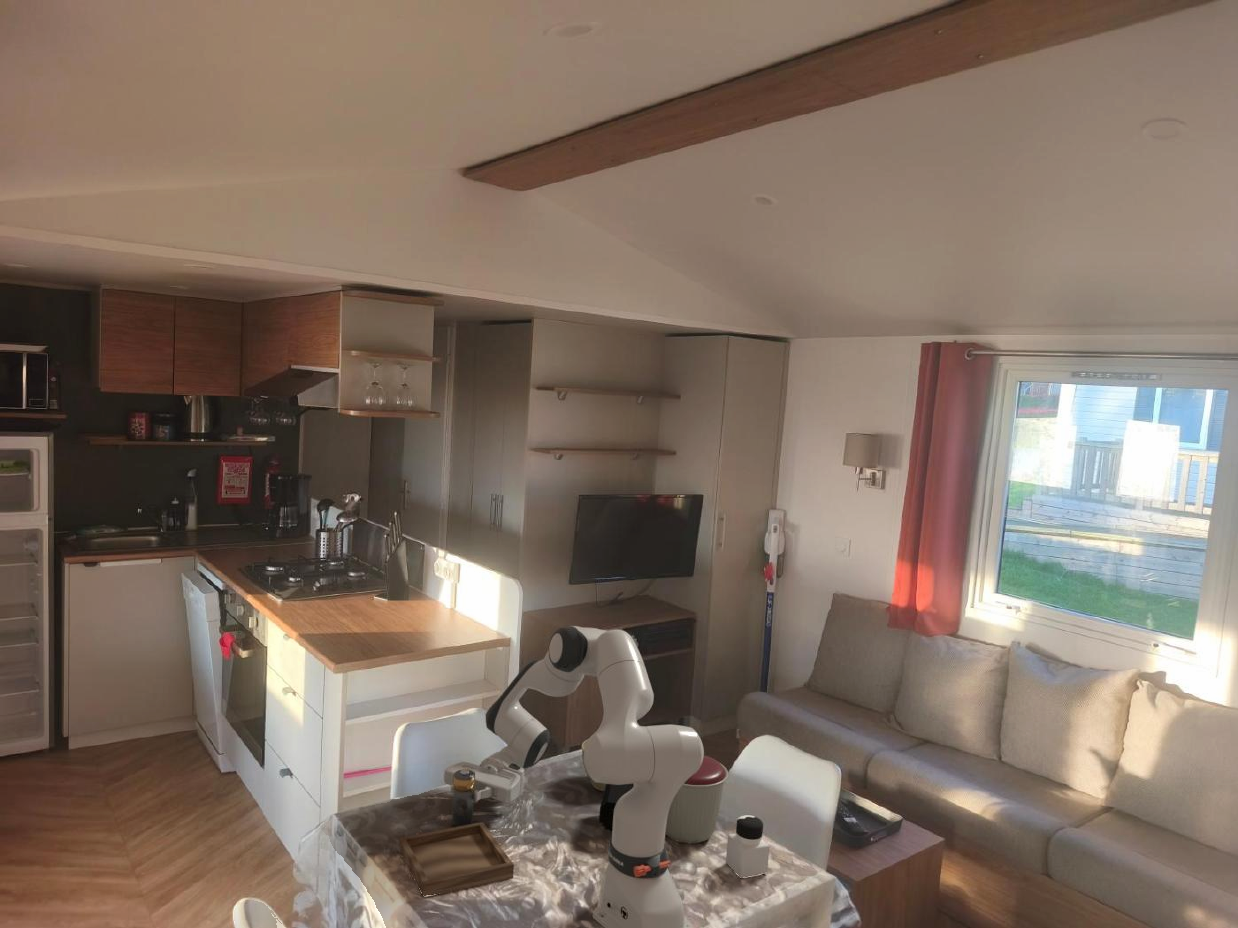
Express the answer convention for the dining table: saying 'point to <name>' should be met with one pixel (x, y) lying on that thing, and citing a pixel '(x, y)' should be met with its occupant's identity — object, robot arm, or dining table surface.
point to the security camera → (611, 803)
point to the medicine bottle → (747, 847)
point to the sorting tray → (455, 859)
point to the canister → (697, 804)
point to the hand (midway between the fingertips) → (463, 793)
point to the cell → (463, 797)
